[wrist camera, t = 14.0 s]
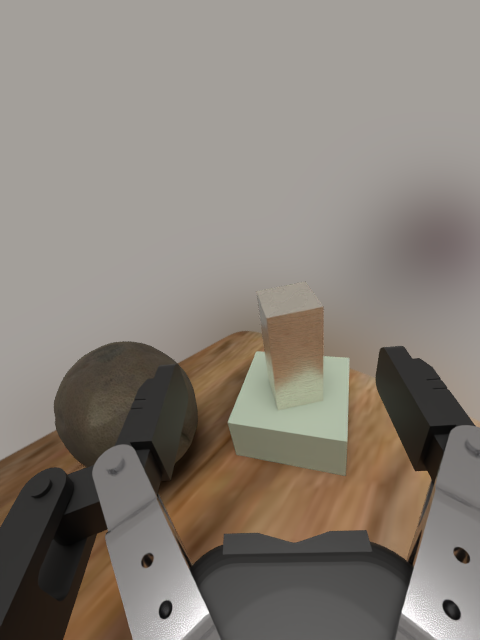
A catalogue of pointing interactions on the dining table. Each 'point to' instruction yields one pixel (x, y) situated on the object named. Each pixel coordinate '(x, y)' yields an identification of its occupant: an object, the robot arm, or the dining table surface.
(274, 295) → the tea tin
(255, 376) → the green box
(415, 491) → the dining table surface
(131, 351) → the brown coconut
